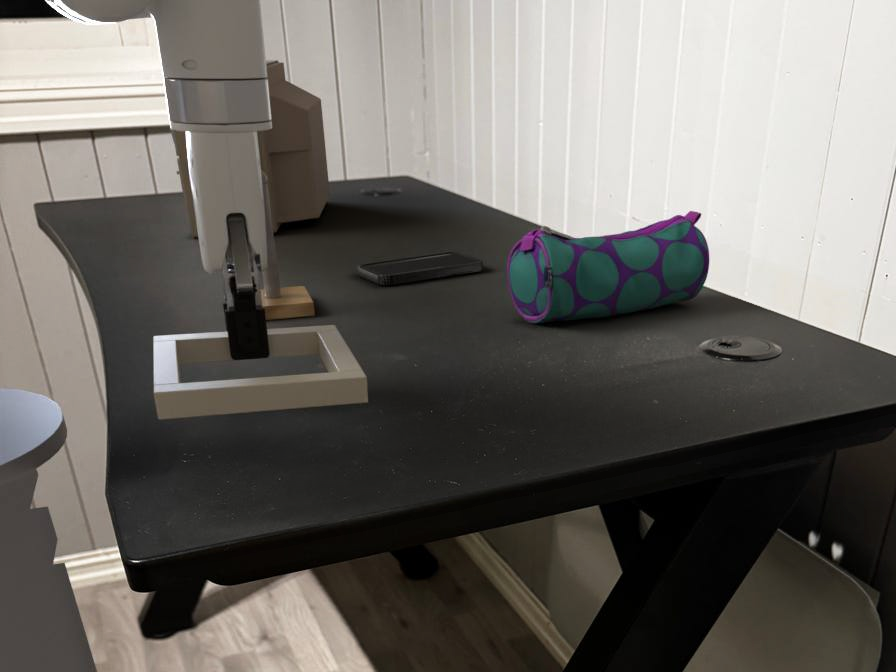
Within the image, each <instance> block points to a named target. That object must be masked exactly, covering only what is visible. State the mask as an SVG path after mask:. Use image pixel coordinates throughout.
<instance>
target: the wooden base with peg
mask: <svg viewBox="0 0 896 672" xmlns="http://www.w3.org/2000/svg"><path fill="white" fill-rule="evenodd" d="M261 175H262V186H263V196H264V208H265V222H266V239H267V268H266V269H265V270H264V271H263V272H262V273H261V276H262V282H263V283H262V284H263V288H262V289H261V288H260V291H261V300H262V308H265V316H266V321H271V320H281V319H282V320H283V319H293V318H294V319H295V318H304V317H315V316H316V314H315V313H316V311H315V304H314V303H315V302H314V300H313V299H312V297H311V295H310V293H309V292H308V290H307V289H306V287H305V285H297V286H285V287H281V283H280V276H279V266H278V260H277V259H278V258H277V251H276V244H275V243H276V242H275V236H274V232H273V227H272V219H271V211H270V204H269V196H268V188H267V176H266V174H265V173H264V172H263V171H262V170H261Z"/></svg>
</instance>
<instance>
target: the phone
mask: <svg viewBox="0 0 896 672" xmlns="http://www.w3.org/2000/svg"><path fill="white" fill-rule="evenodd" d="M483 269H484V268H483V260H482V259H480V258H477V257H475V256H471V255H468V254H465V253H462V252H459V251H447V252H439V253H433V254H427V255H418V256H411V257H404V258H399V259H397V258H396V259H389V260H383V261H376V262H369V263H363V264H359V265H357V275H358V277H360V278H362V279H365V280H367V281H370V282H371V283H374V284H376V285H377V286H378V285H379V286H392V285H393V286H394V285H399V284H404V283H405V284H406V283H413V282H419V281H425V280H431V279H432V280H433V279H438V278H444V277H445V278H446V277H452V276H458V275H464V274H465V275H466V274H470V273H478V272H482V271H483Z"/></svg>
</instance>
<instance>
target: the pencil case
mask: <svg viewBox="0 0 896 672" xmlns="http://www.w3.org/2000/svg"><path fill="white" fill-rule="evenodd" d="M701 217H702V213H701V212H699V211H693V210H690V211H688V212H687V213H686V214H685V215H682V214H677V215H674V216H672V217H670V218H669V219H663V220H660V221H657V222H654V223H651V224H649V225H646V226H645V227H641V228H638V229H635V230H628V231H624V232H621V233H614V234H606V235H600V236H599V235H598V236H584V237H572V236H570V235H567V234H564V233H561V232H558V231H554V230H550V229H551V228H550V227H549V226H546V225H543V226H541V227H540V228H534V229H532V230H531V231H529V232H527V233H526V234H525V235H523V237H522V238H520V240H518V241H517V242H516V243H515V244H514V246H513V247H512V248H511V251H510V253H509V255H508V259H507V265H506V271H507V282H508V287H509V291H510V295H511V299H512V302H513V304H514V307H515V309H516V311H517V312H518V314H519V315H520V316H521V317H522V318H523V319H524V321H526V323H529V324H542V323H546V322H547V323H548V322H549V323H551V322H567V321H576V320H584V319H596V318H597V319H598V318H600V319H601V318H607V317H612V316H617V315H626V314H631V313H636V312H639V311H640V312H641V311H645V310H650V309H655V308H659V307H663V306H667V305H671V304H674V303H678V302H687V301H690V300H692V299H694V298H695V297H697V296H698V295H699V294H700V292H701V291H702V289H703V287H704V285H705V283H706V281H707V278H708V274H709V269H710V250H709V249H710V248H709V244H708V241H707V238H706V237H705V235H704V233H703V232H702V230H700V228H698V227H697V226H696V224H697V223H698V222H699V220H700V219H701Z"/></svg>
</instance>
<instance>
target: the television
mask: <svg viewBox="0 0 896 672" xmlns="http://www.w3.org/2000/svg"><path fill="white" fill-rule="evenodd" d="M266 67H267V77H266V78H267V79H268V88H269V98H270V109H271V120H272V129H269V130H264V131H257V137H258V146H259V155H260V165H261V170H262V171H263V172H264V173H265V174H266V176H267V188H268V196H269V204H270V211H271V219H272V227H273V233H276V232H277V231H278V229H279V228H280V227H281V225H282V224H285V223H293V222H298V221H299V222H300V221H306V220H312V219H313V220H314V219H319V218H320V217H321V214H322V213H323V210H324V208H325V206H326V204H327V202H328V200H329V198H330V195H331V192H330V184H329V183H330V181H329V172H328V171H329V170H328V160H327V149H326V140H325V127H324V117H323V107H322V99H321V98H320V97H318V96H316V95H314V94H313V93H311V92H309V91H307V90H305V89H303V88H302V87H299V86H298V85H295V84H294V83H292V82H289V81H288V80H286V71H285V63H284V62H282V61H281V62H279V60H277V59H274V60H273V59H269V60H268V59H266ZM164 97H165V98H164V99H166V95H165V94H164ZM165 104H166V105H167V101H166V100H165ZM166 109H167V110H168V108H167V107H166ZM169 131H170V134H171V137H172V142H173V144H174V148H175V155H176V156H177V158H176V162H177V168H178V170H176V175H179V179H180V184H181V190H182V197H183V202H184V208H185V213H186V220H187V226H188V227H190V229H191V234H192V238H198V231H197V224H196V217H195V210H194V203H193V196H192V189H191V182H190V174H189V165H188V155H187V141H186V132H184V131H176V130H171V129H170V130H169Z"/></svg>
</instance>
